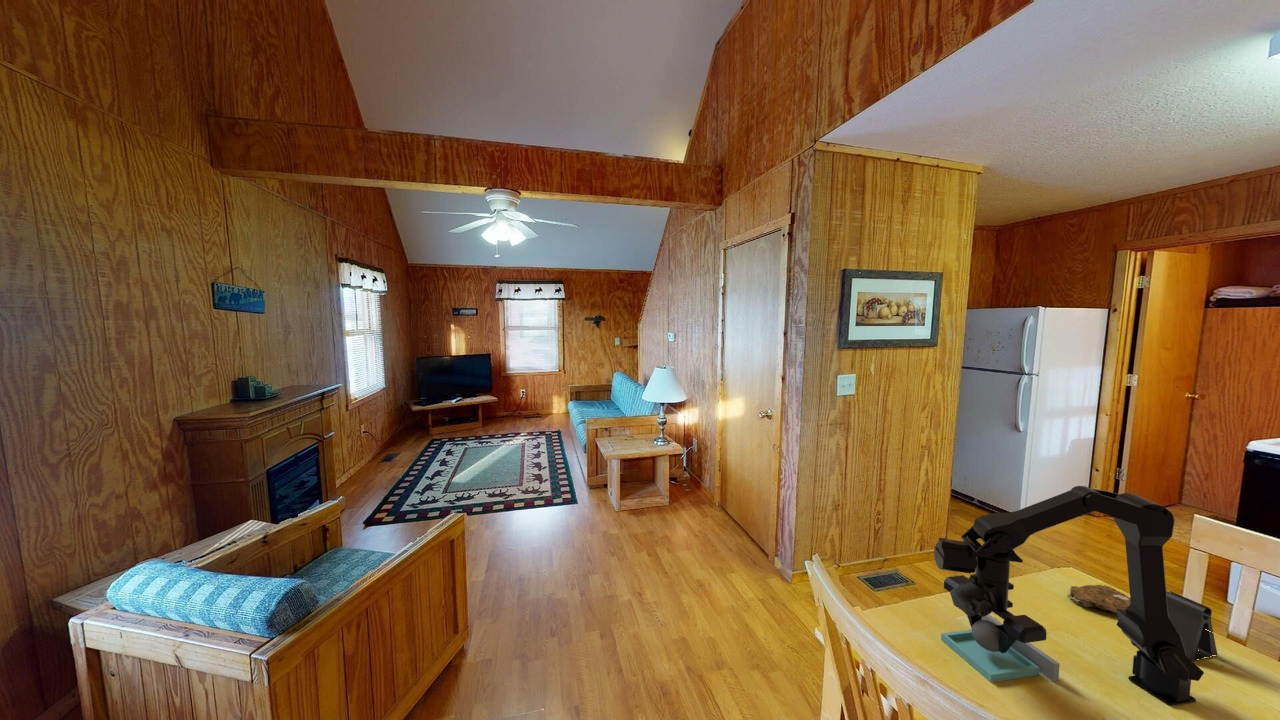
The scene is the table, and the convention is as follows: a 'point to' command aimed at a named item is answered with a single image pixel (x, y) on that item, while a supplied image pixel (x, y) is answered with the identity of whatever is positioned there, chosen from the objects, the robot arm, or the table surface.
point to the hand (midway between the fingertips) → (988, 641)
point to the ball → (986, 635)
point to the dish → (990, 658)
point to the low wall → (1034, 655)
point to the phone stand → (1192, 626)
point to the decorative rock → (1099, 597)
